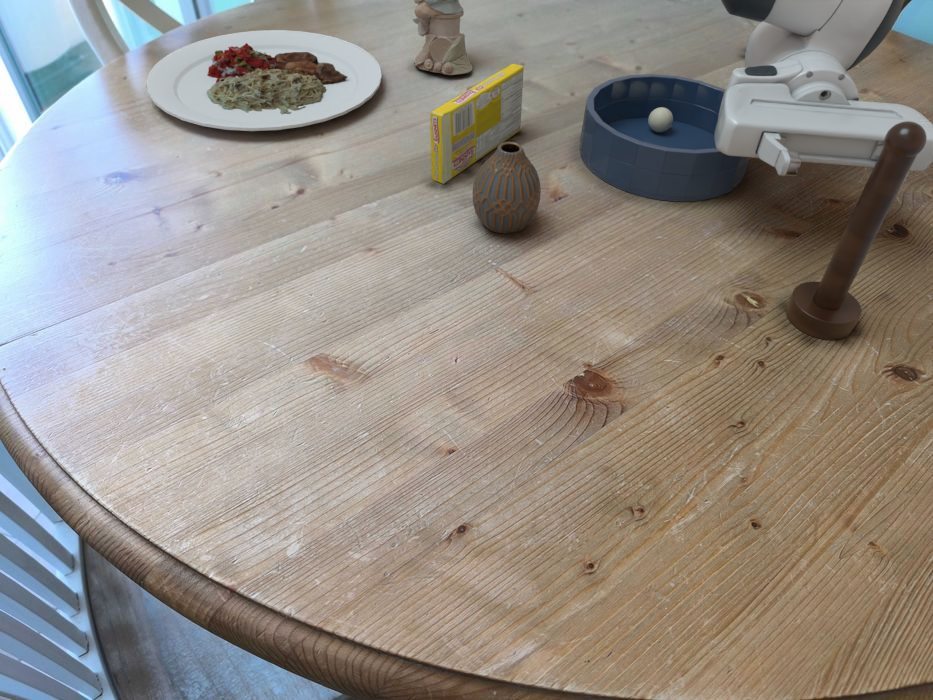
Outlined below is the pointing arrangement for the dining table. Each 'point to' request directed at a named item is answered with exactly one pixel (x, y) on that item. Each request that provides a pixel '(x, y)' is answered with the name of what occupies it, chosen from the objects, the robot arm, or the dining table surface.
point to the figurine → (441, 37)
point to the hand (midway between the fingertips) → (843, 173)
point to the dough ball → (660, 119)
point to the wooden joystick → (856, 242)
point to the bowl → (658, 139)
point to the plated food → (264, 80)
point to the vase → (506, 190)
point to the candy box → (475, 122)
